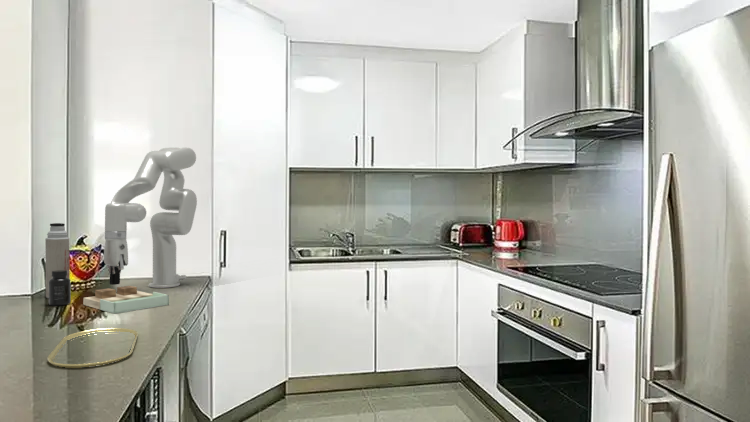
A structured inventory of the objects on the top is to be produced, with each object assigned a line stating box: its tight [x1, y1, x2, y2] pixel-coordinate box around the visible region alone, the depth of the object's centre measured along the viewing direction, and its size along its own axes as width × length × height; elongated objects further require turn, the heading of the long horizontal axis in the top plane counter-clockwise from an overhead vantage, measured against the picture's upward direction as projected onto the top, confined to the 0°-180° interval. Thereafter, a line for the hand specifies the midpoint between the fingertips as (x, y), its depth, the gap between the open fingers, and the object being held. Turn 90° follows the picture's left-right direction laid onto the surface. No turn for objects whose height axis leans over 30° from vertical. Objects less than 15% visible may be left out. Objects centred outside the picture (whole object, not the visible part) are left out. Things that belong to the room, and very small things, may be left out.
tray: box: [99, 291, 170, 314], centre depth 198 cm, size 20×10×4 cm, turn 142°
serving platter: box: [46, 327, 139, 369], centre depth 146 cm, size 19×35×2 cm, turn 19°
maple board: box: [82, 290, 153, 310], centre depth 204 cm, size 20×12×2 cm, turn 142°
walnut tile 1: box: [116, 285, 138, 296], centre depth 209 cm, size 5×5×2 cm
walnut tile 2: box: [94, 288, 117, 299], centre depth 202 cm, size 5×5×2 cm
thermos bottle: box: [45, 222, 71, 299], centre depth 215 cm, size 8×8×28 cm
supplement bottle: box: [48, 270, 72, 307], centre depth 200 cm, size 7×7×12 cm
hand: (114, 284), depth 213 cm, fingers closed
